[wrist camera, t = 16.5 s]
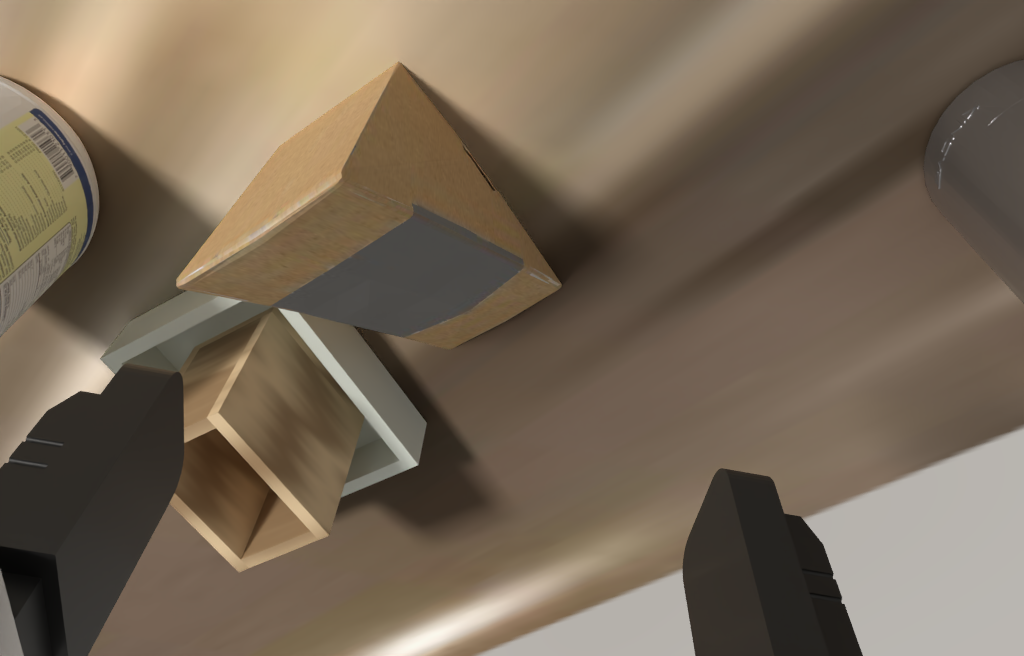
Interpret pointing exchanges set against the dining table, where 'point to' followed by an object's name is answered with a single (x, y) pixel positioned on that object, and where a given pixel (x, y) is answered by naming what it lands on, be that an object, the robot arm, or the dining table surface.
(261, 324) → the oak crate
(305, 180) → the sandwich container
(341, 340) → the grey crate
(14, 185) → the supplement tub
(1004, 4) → the dining table surface
